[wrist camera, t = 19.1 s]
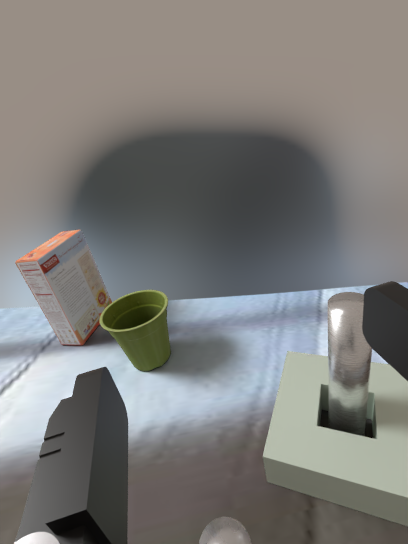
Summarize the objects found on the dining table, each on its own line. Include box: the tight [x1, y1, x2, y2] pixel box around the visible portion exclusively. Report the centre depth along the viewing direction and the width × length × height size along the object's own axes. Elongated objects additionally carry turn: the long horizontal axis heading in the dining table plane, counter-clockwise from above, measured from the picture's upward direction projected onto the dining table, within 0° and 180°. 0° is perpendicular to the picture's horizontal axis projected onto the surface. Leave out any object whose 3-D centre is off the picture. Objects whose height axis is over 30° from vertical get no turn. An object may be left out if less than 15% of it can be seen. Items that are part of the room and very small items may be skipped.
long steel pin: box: [328, 292, 372, 437], centre depth 33 cm, size 4×4×20 cm
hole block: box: [263, 351, 408, 526], centre depth 37 cm, size 16×16×5 cm
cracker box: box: [15, 230, 112, 345], centre depth 66 cm, size 14×6×21 cm, turn 166°
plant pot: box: [100, 290, 171, 371], centre depth 55 cm, size 12×12×11 cm
